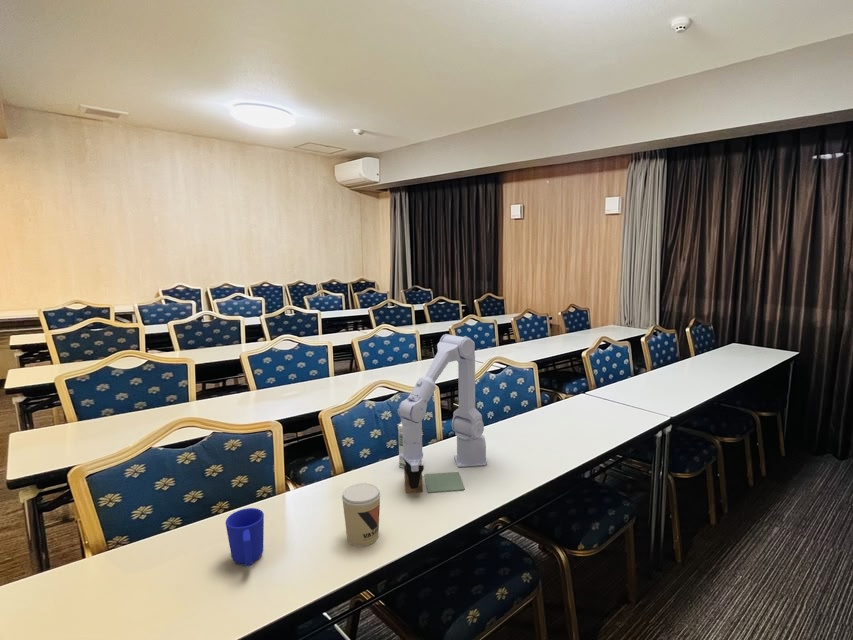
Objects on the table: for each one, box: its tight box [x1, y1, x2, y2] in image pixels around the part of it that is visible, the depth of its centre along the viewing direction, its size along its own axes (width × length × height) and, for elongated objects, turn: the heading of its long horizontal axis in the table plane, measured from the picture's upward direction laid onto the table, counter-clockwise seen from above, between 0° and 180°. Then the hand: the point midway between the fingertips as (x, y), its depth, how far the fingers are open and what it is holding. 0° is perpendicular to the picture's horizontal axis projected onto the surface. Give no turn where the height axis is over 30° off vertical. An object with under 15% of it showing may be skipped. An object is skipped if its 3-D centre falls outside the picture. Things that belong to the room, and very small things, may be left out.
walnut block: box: [403, 468, 424, 494], centre depth 138 cm, size 5×5×5 cm
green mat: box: [423, 471, 466, 494], centre depth 142 cm, size 11×11×1 cm
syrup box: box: [397, 422, 423, 469], centre depth 152 cm, size 6×6×14 cm
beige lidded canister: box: [341, 482, 381, 547], centre depth 115 cm, size 9×9×12 cm
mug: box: [225, 507, 265, 567], centre depth 106 cm, size 8×12×10 cm
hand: (413, 483), depth 138 cm, fingers closed on walnut block, 5 cm apart
